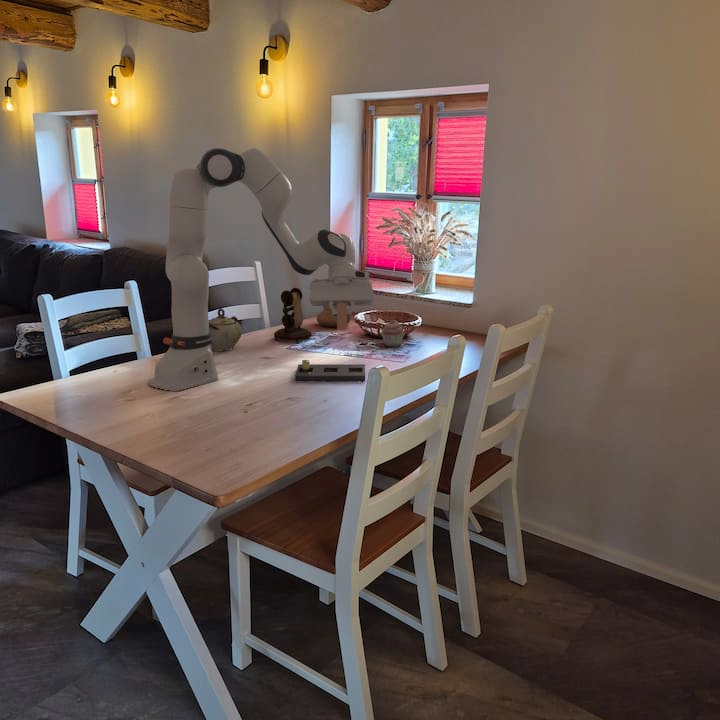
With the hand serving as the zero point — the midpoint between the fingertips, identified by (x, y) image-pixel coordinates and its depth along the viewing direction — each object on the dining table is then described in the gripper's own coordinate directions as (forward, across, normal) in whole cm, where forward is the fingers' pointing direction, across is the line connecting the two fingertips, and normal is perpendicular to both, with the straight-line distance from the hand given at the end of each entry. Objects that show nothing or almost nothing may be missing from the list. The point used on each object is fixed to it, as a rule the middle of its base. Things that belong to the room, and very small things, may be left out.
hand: (341, 315), depth 194 cm
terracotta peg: (+3, 0, +4) cm, 4 cm away
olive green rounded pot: (-10, -46, +38) cm, 60 cm away
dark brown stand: (-19, -21, +48) cm, 55 cm away
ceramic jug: (-35, -5, +64) cm, 73 cm away
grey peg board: (+14, -4, +14) cm, 20 cm away
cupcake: (-12, +18, +42) cm, 47 cm away
